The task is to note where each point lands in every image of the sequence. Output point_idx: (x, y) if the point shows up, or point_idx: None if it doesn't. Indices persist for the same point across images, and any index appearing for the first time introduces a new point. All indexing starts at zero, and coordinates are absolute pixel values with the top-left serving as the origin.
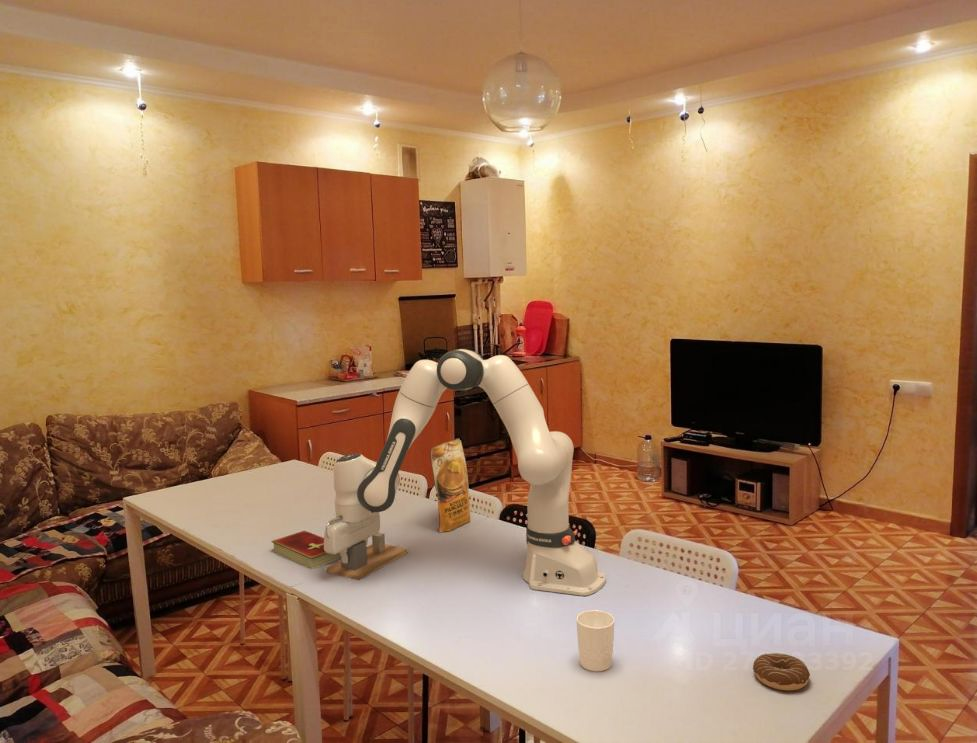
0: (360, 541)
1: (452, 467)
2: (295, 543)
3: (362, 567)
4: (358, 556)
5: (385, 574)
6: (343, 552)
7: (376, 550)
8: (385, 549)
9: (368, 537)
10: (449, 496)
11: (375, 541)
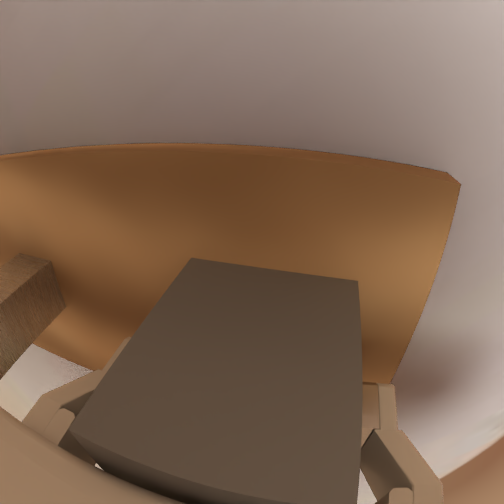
0: (136, 491)
1: None
2: None
3: (274, 256)
4: (286, 361)
5: (240, 17)
6: (439, 493)
7: (44, 294)
8: None
9: (15, 423)
10: None
11: (7, 336)
